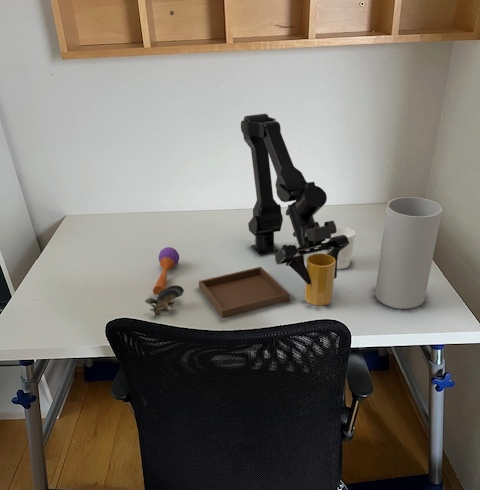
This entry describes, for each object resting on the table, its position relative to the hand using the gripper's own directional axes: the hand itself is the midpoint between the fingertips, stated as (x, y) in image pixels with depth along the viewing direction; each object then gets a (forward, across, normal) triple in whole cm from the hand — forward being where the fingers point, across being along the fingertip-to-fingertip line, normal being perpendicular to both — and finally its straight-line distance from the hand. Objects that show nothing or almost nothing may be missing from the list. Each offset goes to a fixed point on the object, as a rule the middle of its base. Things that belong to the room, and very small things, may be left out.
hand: (322, 281), depth 134 cm
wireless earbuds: (-13, +3, +23) cm, 27 cm away
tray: (-4, -17, +13) cm, 22 cm away
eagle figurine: (-5, -37, +15) cm, 40 cm away
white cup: (-7, +16, +17) cm, 24 cm away
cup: (+3, 0, +5) cm, 6 cm away
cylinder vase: (+9, +20, +1) cm, 22 cm away
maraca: (-16, -33, +26) cm, 45 cm away
